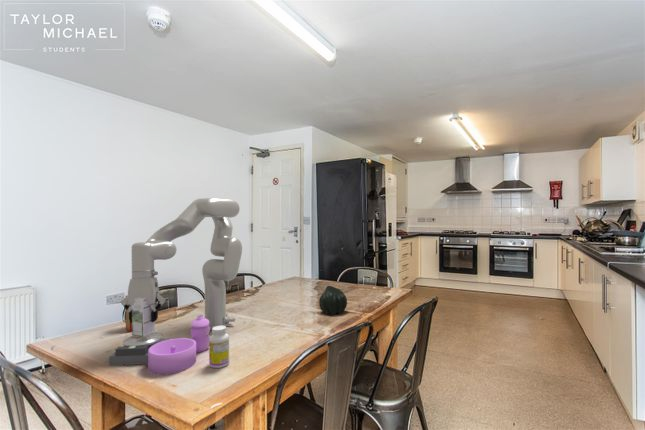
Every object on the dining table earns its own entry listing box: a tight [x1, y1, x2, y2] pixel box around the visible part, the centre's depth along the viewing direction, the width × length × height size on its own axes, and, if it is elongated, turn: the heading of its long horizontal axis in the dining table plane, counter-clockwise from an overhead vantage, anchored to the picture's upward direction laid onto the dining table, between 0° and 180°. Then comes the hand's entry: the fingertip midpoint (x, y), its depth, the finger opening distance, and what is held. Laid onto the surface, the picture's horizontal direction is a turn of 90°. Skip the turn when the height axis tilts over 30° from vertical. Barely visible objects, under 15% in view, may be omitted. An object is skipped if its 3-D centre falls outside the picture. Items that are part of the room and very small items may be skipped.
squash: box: [318, 285, 348, 315], centre depth 175 cm, size 14×15×15 cm
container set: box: [147, 314, 211, 376], centre depth 118 cm, size 25×15×13 cm, turn 159°
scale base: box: [108, 337, 170, 366], centre depth 122 cm, size 14×16×6 cm
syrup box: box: [131, 297, 156, 337], centre depth 123 cm, size 6×6×14 cm
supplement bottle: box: [208, 326, 230, 369], centre depth 113 cm, size 7×7×13 cm
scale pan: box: [122, 331, 163, 346], centre depth 123 cm, size 13×13×2 cm
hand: (143, 321), depth 123 cm, fingers closed on syrup box, 7 cm apart
